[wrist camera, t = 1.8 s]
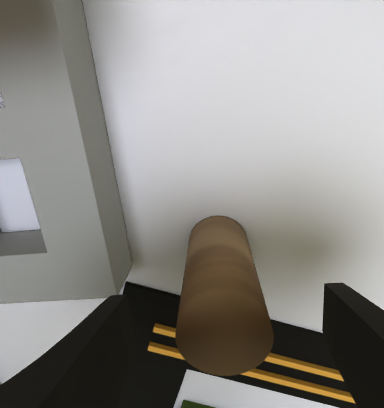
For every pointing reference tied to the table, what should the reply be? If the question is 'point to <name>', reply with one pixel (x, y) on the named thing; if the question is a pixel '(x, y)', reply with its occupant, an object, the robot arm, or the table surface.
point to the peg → (222, 302)
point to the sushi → (260, 376)
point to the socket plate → (58, 159)
